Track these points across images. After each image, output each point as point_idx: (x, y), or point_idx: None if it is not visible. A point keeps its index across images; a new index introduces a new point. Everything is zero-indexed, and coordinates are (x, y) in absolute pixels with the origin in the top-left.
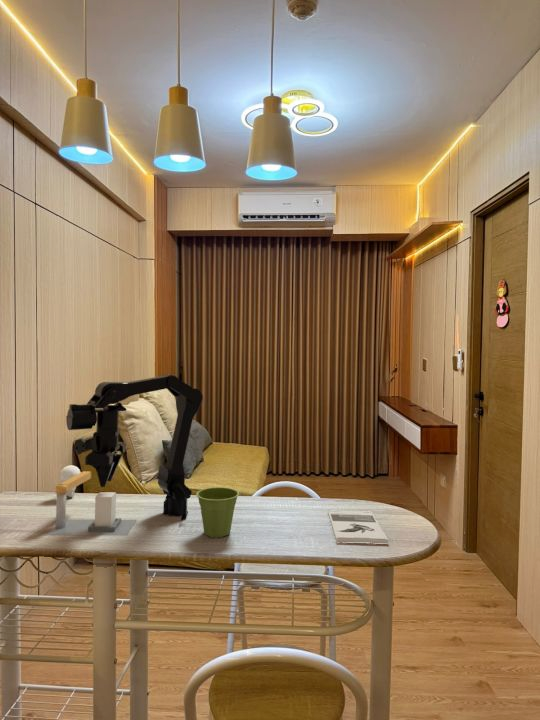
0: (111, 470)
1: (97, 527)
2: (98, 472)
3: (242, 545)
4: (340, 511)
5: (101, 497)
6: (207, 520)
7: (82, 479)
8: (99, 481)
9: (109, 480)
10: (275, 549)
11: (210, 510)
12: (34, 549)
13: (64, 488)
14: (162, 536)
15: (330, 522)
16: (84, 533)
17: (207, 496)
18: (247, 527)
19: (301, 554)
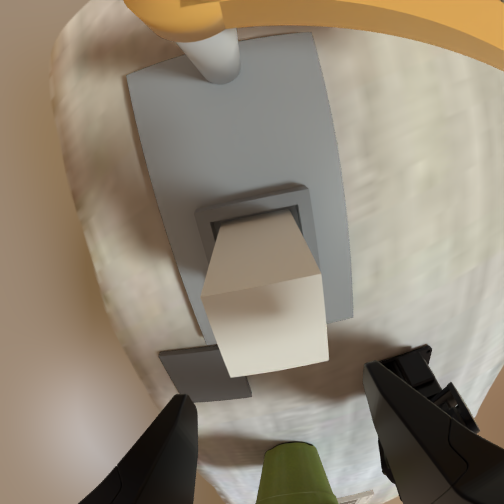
0: (395, 455)
1: (205, 249)
2: (103, 495)
3: (242, 474)
4: (367, 499)
5: (213, 328)
6: (263, 478)
7: (494, 57)
8: (149, 426)
9: (365, 379)
10: (239, 489)
11: (256, 500)
12: (57, 112)
13: (153, 24)
14: (251, 397)
15: (338, 499)
16: (175, 205)
17: (327, 496)
18: (324, 466)
19: (232, 498)
